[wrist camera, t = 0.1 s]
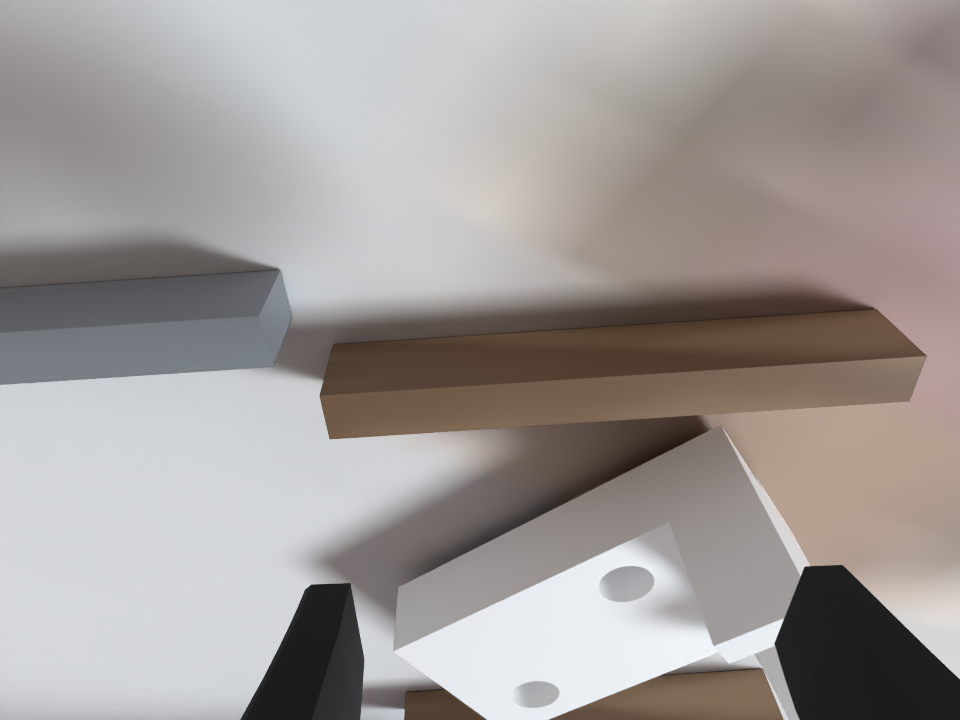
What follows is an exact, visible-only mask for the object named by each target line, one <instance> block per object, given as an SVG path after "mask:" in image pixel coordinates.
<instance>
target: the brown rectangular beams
mask: <svg viewBox="0 0 960 720" xmlns="http://www.w3.org/2000/svg"><path fill="white" fill-rule="evenodd" d="M926 357H927V356H926V355H925V354H924V353H923V352H922V351H921V350H920V349H919V348H918V347H917V346H916V345H915V344H913V343H912V342H911V341H910V340H909V339H908V338H907V337H906V336H905V335H904V334H903V333H902V332H901V331H900V330H898V329H897V328H896V327H895V326H894V325H893V324H892V323H891V322H890V321H889V320H888V319H887V318H886V317H885V316H884V315H882V314H881V313H880V312H879V311H878V310H877V309H871V310H856V311H841V312H825V313H810V314H795V315H779V316H764V317H749V318H733V319H718V320H703V321H687V322H672V323H657V324H642V325H626V326H611V327H596V328H580V329H565V330H550V331H534V332H519V333H504V334H488V335H473V336H458V337H442V338H427V339H412V340H396V341H381V342H366V343H350V344H335V345H333V348H332V351H331V355H330V359H329V362H328V366H327V370H326V374H325V377H324V381H323V385H322V388H321V392H320V400H321V404H322V409H323V413H324V417H325V421H326V426H327V430H328V434H329V438H330V439H342V438H357V437H372V436H388V435H403V434H418V433H433V432H449V431H464V430H479V429H495V428H510V427H525V426H541V425H556V424H571V423H586V422H602V421H617V420H632V419H648V418H663V417H678V416H694V415H709V414H724V413H739V412H755V411H770V410H785V409H801V408H816V407H831V406H847V405H862V404H877V403H892V402H908V401H910V399H911V396H912V394H913V391H914V389H915V386H916V383H917V381H918V378H919V375H920V373H921V370H922V368H923V365H924V362H925V360H926ZM404 720H487V719H485V718H484V717H483V716H481V715H480V714H479V713H477V712H476V711H474V710H473V709H472V708H470V707H469V706H468V705H466V704H465V703H463V702H462V701H461V700H459V699H458V698H457V697H455V696H454V695H452V694H451V693H450V692H448V691H447V690H434V691H419V692H406V700H405V717H404ZM549 720H783V717H782V715H781V712H780V710H779V708H778V705H777V703H776V700H775V698H774V695H773V693H772V691H771V688H770V686H769V683H768V681H767V678H766V676H765V674H764V671H763V669H754V670H739V671H724V672H709V673H693V674H678V675H663V676H657V677H655V678H652V679H650V680H647V681H645V682H642V683H640V684H637V685H635V686H632V687H630V688H627V689H624V690H622V691H619V692H617V693H614V694H612V695H609V696H607V697H604V698H602V699H599V700H597V701H594V702H592V703H589V704H587V705H584V706H582V707H579V708H577V709H574V710H572V711H569V712H566V713H564V714H561V715H559V716H556V717H554V718H551V719H549Z"/></svg>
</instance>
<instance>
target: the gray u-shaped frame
mask: <svg viewBox="0 0 960 720" xmlns="http://www.w3.org/2000/svg"><path fill="white" fill-rule="evenodd" d="M291 319H292V315H291V311H290V307H289V302H288V298H287V294H286V290H285V286H284V282H283V278H282V274H281V270H272V271H257V272H242V273H226V274H211V275H196V276H180V277H165V278H150V279H134V280H119V281H104V282H88V283H73V284H58V285H42V286H27V287H12V288H0V385H4V384H19V383H34V382H50V381H65V380H80V379H96V378H111V377H126V376H142V375H157V374H172V373H188V372H203V371H218V370H234V369H249V368H264V367H273V365H274V363H275V360H276V358H277V355H278V353H279V350H280V347H281V345H282V342H283V340H284V337H285V335H286V332H287V329H288V327H289V324H290V322H291Z"/></svg>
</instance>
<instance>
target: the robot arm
mask: <svg viewBox="0 0 960 720" xmlns="http://www.w3.org/2000/svg"><path fill="white" fill-rule="evenodd" d="M774 644H775V647H776V651H777V654H778V657H779V661H780V664H781V667H782V671H783V674H784V677H785V680H786V683H787V686H788V689H789V692H790V695H791V698H792V701H793V704H794V707H795V710H796V713H797V715H798V717H799V720H960V679H959V678H958V677H957V676H956V675H955V674H953V673H952V672H951V671H950V670H949V669H948V668H947V667H946V666H945V665H944V664H943V663H942V662H941V661H940V660H939V659H938V658H937V657H936V656H935V655H934V654H933V653H931V652H930V651H929V650H928V649H927V648H926V647H925V646H924V645H923V644H922V643H921V642H920V641H919V640H918V639H917V638H916V637H915V636H914V635H913V634H912V633H911V632H910V631H909V630H908V629H907V628H906V627H905V626H904V625H903V624H902V623H901V622H900V621H899V620H898V619H897V618H896V617H895V616H894V615H893V614H892V613H891V612H890V611H889V610H888V609H887V608H886V607H885V606H884V605H883V604H882V603H881V602H880V601H879V600H878V599H877V598H876V597H874V596H873V595H872V594H871V593H870V592H869V591H868V590H867V589H866V588H865V587H864V586H863V585H862V584H861V583H860V582H859V581H858V580H857V579H856V578H855V577H854V576H853V575H852V574H851V573H850V572H849V571H848V570H847V569H846V568H845V567H844V566H843V565H832V566H805V567H804V569H803V572H802V574H801V577H800V580H799V582H798V585H797V587H796V590H795V592H794V595H793V597H792V600H791V602H790V605H789V607H788V610H787V613H786V615H785V618H784V620H783V623H782V625H781V628H780V630H779V633H778V635H777V638H776V641H775V643H774ZM363 672H364V655H363V650H362V644H361V639H360V633H359V628H358V622H357V617H356V611H355V606H354V600H353V595H352V589H351V584H350V583H344V584H317V585H310V586H309V587H308V588H307V589H306V590H305V592H304V594H303V596H302V599H301V601H300V604H299V606H298V608H297V610H296V613H295V615H294V617H293V619H292V621H291V624H290V626H289V628H288V630H287V632H286V634H285V636H284V638H283V640H282V642H281V645H280V647H279V649H278V651H277V653H276V654H275V656H274V658H273V660H272V662H271V664H270V666H269V668H268V670H267V672H266V674H265V676H264V678H263V680H262V682H261V683H260V685H259V687H258V689H257V691H256V692H255V694H254V696H253V698H252V700H251V702H250V703H249V705H248V707H247V709H246V711H245V712H244V714H243V716H242V718H241V720H360V714H361V701H362V687H363Z"/></svg>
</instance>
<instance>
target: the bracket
mask: <svg viewBox="0 0 960 720" xmlns="http://www.w3.org/2000/svg"><path fill="white" fill-rule="evenodd" d="M805 566H810V565H809V563H808V561H807V559H806V557H805V555H804V554H803V552H802V550H801V548H800V546H799V545H798V543H797V541H796V539H795V537H794V535H793V534H792V532H791V530H790V529H789V527H788V526H787V524H786V522H785V521H784V519H783V518H782V516H781V515H780V513H779V512H778V510H777V509H776V507H775V505H774V504H773V502H772V501H771V499H770V498H769V496H768V495H767V493H766V492H765V490H764V488H763V487H762V485H761V484H760V482H759V481H758V479H757V478H756V476H754V475H753V474H752V472H751V471H750V469H749V467H748V466H747V464H746V463H745V461H744V460H743V458H742V457H741V455H740V454H739V452H738V450H737V449H736V447H735V446H734V444H733V443H732V441H731V440H730V438H729V437H728V435H727V433H726V432H725V430H724V429H723V427H722V426H721V425H719V426H717V427H715V428H713V429H712V430H710V431H708V432H706V433H704V434H702V435H700V436H698V437H696V438H694V439H692V440H690V441H688V442H686V443H684V444H682V445H680V446H678V447H676V448H674V449H672V450H670V451H668V452H666V453H664V454H662V455H660V456H658V457H656V458H654V459H652V460H650V461H648V462H646V463H644V464H642V465H640V466H638V467H636V468H634V469H632V470H630V471H628V472H626V473H624V474H622V475H620V476H618V477H616V478H614V479H612V480H610V481H608V482H606V483H604V484H602V485H600V486H598V487H596V488H594V489H592V490H590V491H588V492H586V493H584V494H582V495H581V496H579V497H577V498H575V499H573V500H571V501H569V502H567V503H565V504H563V505H561V506H559V507H557V508H555V509H553V510H551V511H549V512H547V513H545V514H543V515H541V516H539V517H537V518H535V519H533V520H531V521H529V522H527V523H525V524H523V525H521V526H519V527H517V528H515V529H513V530H511V531H509V532H507V533H505V534H503V535H501V536H499V537H497V538H495V539H493V540H491V541H489V542H487V543H485V544H483V545H481V546H479V547H477V548H475V549H473V550H471V551H469V552H467V553H465V554H463V555H461V556H459V557H457V558H455V559H453V560H451V561H449V562H448V563H446V564H444V565H442V566H440V567H438V568H436V569H434V570H432V571H430V572H428V573H426V574H424V575H422V576H420V577H418V578H416V579H414V580H412V581H410V582H408V583H406V584H404V585H402V586H400V587H398V596H397V609H396V623H395V636H394V649H393V652H395V653H396V654H398V655H399V656H400V657H402V658H403V659H404V660H406V661H407V662H409V663H410V664H411V665H413V666H414V667H415V668H417V669H418V670H420V671H421V672H422V673H424V674H425V675H426V676H428V677H429V678H431V679H432V680H433V681H435V682H436V683H437V684H439V685H440V686H441V687H443V688H444V689H446V690H447V691H448V692H450V693H451V694H452V695H454V696H455V697H457V698H458V699H459V700H461V701H462V702H463V703H465V704H466V705H468V706H469V707H470V708H472V709H473V710H474V711H476V712H477V713H479V714H480V715H481V716H483V717H484V718H485V719H487V720H549V719H551V718H554V717H556V716H559V715H561V714H564V713H566V712H569V711H572V710H574V709H577V708H579V707H582V706H584V705H587V704H589V703H592V702H594V701H597V700H599V699H602V698H604V697H607V696H609V695H612V694H614V693H617V692H619V691H622V690H624V689H627V688H630V687H632V686H635V685H637V684H640V683H642V682H645V681H647V680H650V679H652V678H655V677H657V676H660V675H662V674H665V673H667V672H670V671H672V670H675V669H677V668H680V667H682V666H685V665H688V664H690V663H693V662H695V661H698V660H700V659H703V658H705V657H708V656H710V655H713V654H715V653H718V652H719V653H720V654H721V655H722V657H723V658H724V659H725V660H726V661H727V662H728V663H729V664H730V663H732V662H735V661H738V660H740V659H743V658H745V657H748V656H750V655H753V654H755V656H756V657H757V659H758V661H759V662H760V664H761V666H762V668H763V669H764V671H765V673H766V675H767V677H768V679H769V680H770V682H771V684H772V686H773V688H774V690H775V692H776V694H777V696H778V698H779V700H780V702H781V704H782V706H783V708H784V710H785V712H786V714H787V716H788V719H789V720H799V717H798V715H797V713H796V710H795V707H794V704H793V701H792V698H791V695H790V692H789V689H788V686H787V683H786V680H785V677H784V674H783V671H782V667H781V664H780V661H779V657H778V654H777V651H776V647H775V644H774V643H775V641H776V638H777V635H778V633H779V630H780V628H781V625H782V623H783V620H784V618H785V615H786V613H787V610H788V607H789V605H790V602H791V600H792V597H793V595H794V592H795V590H796V587H797V585H798V582H799V580H800V577H801V574H802V572H803V569H804V567H805Z"/></svg>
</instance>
